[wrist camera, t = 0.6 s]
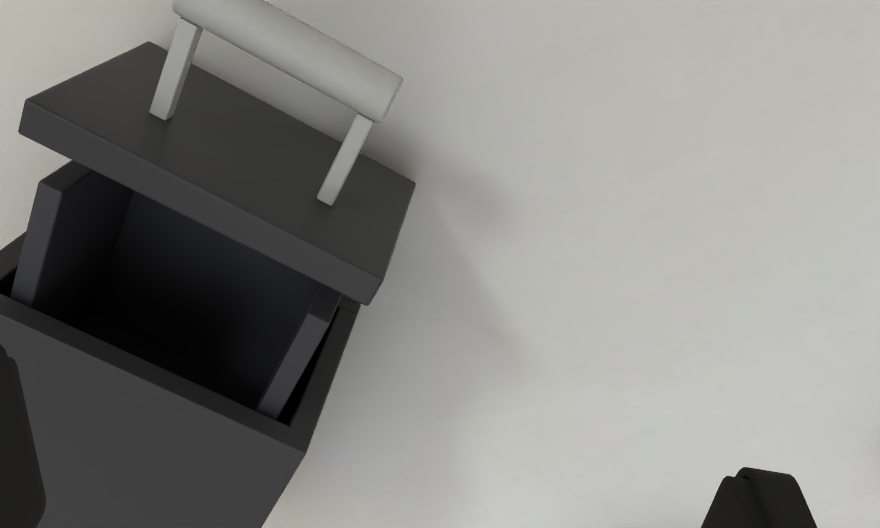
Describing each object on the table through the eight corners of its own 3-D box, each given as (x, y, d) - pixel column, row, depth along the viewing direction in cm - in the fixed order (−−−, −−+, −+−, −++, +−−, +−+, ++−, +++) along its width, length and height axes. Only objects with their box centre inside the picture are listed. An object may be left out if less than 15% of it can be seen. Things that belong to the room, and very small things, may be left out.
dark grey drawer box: (101, 174, 32) (-55, 289, 23) (361, 304, 34) (306, 454, 25) (34, 397, 39) (-105, 548, 30) (252, 493, 40) (180, 661, 32)
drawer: (188, -89, 25) (61, -70, 18) (477, 74, 27) (461, 147, 20) (70, 298, 34) (-46, 408, 27) (293, 402, 36) (238, 530, 29)
